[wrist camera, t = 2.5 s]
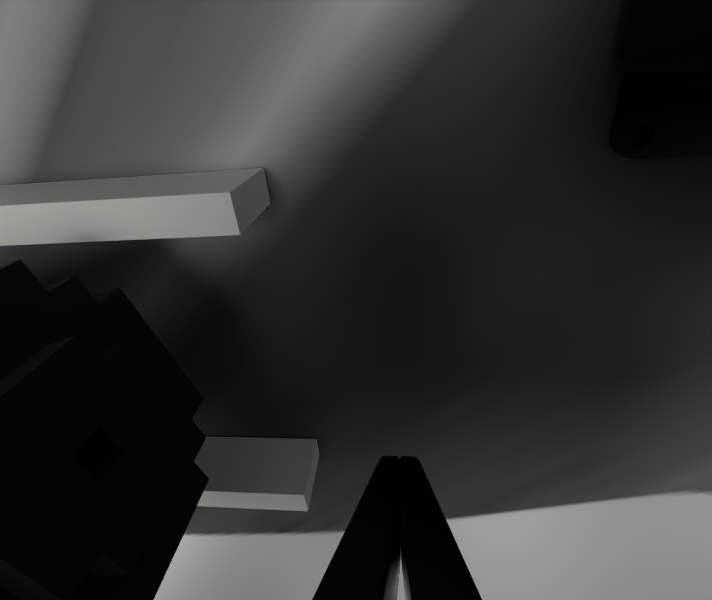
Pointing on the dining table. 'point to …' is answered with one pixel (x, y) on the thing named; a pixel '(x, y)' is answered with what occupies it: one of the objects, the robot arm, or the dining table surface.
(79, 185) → the tester cradle
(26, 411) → the security camera
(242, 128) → the dining table surface
